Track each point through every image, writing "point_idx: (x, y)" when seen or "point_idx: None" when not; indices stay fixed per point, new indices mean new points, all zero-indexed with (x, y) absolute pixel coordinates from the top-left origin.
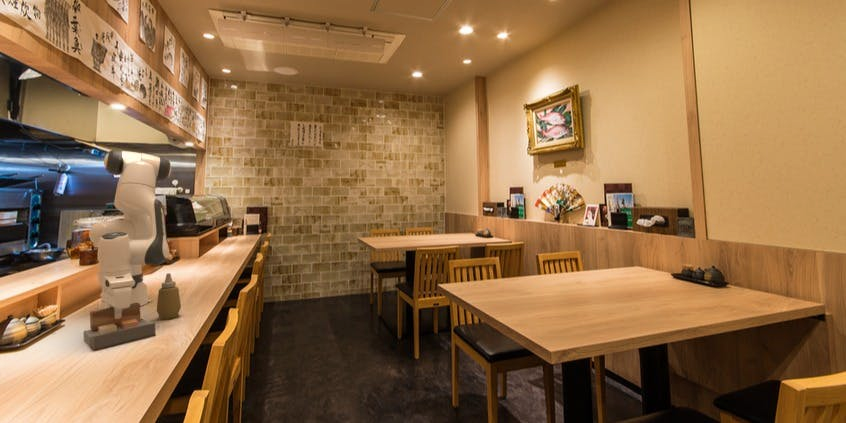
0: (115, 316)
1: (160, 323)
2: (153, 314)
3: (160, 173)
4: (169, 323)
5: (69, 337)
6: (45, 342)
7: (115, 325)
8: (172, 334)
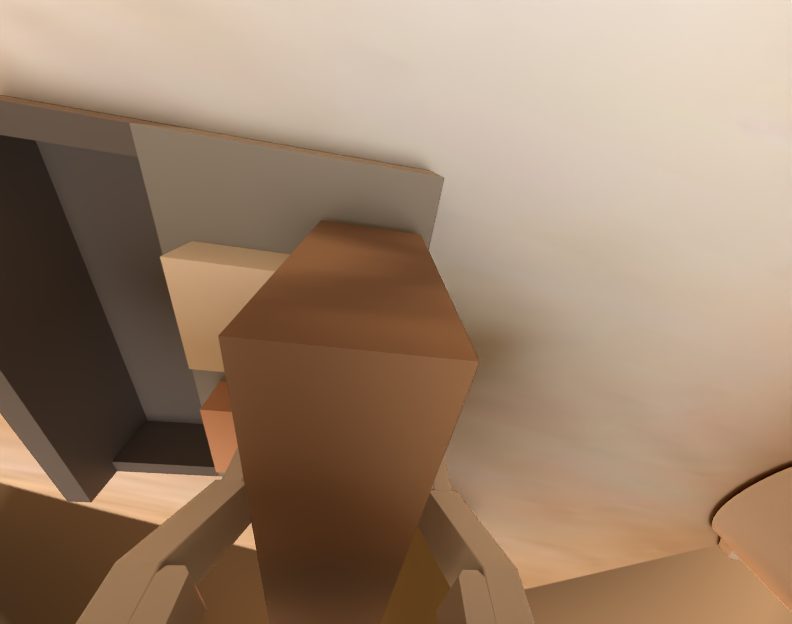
0: (237, 452)
1: None
2: (531, 505)
3: None
4: None
5: (631, 129)
6: None
7: (217, 369)
8: None
